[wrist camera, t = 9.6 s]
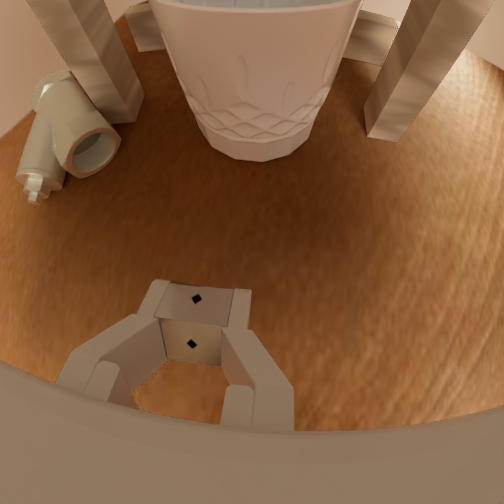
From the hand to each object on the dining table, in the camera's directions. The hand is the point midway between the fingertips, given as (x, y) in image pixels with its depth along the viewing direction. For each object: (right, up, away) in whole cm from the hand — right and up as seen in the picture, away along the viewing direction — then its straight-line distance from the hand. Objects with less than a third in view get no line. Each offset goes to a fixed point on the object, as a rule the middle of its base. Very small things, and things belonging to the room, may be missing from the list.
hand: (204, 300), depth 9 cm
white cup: (+2, +9, +7) cm, 12 cm away
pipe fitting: (-11, +8, +8) cm, 16 cm away
